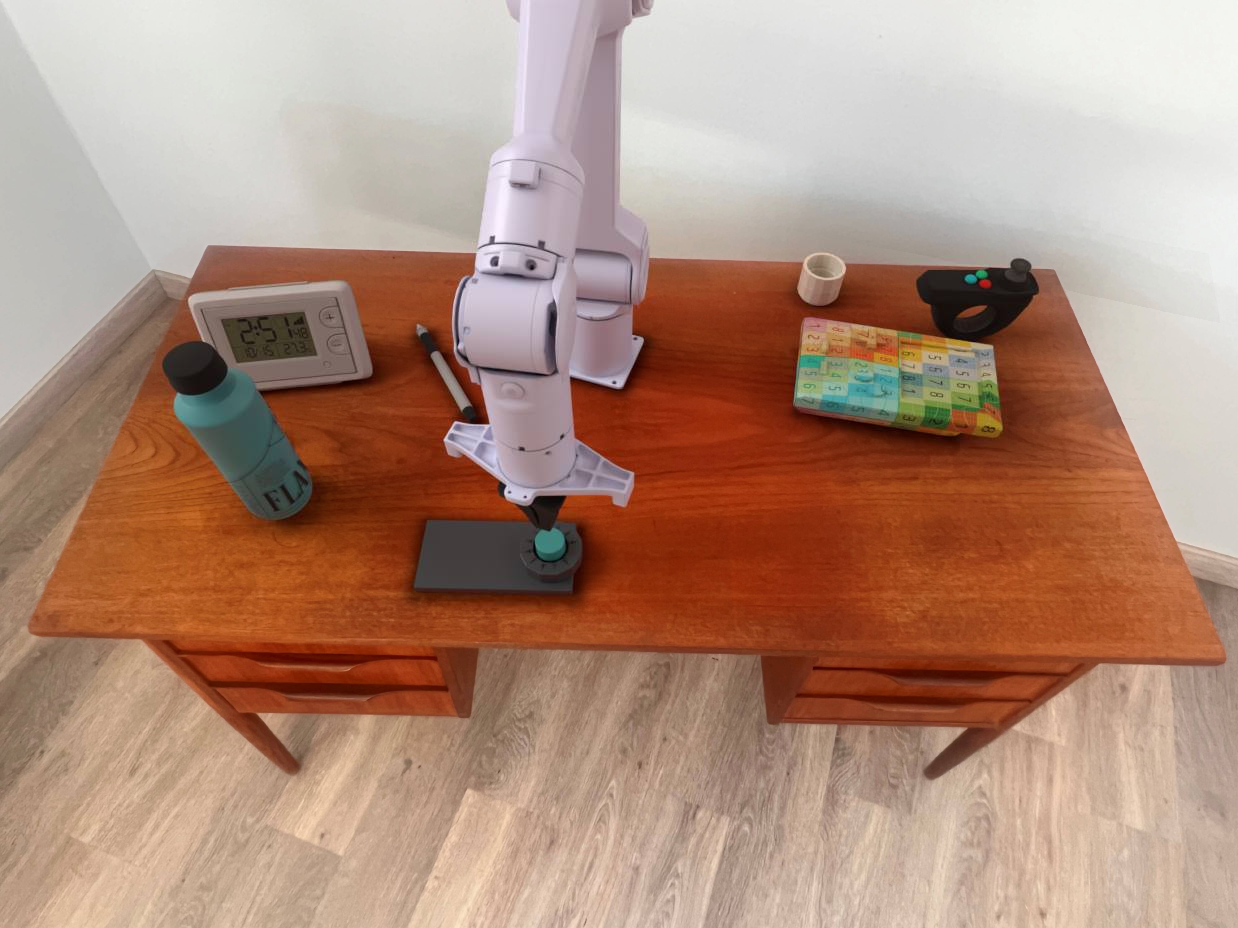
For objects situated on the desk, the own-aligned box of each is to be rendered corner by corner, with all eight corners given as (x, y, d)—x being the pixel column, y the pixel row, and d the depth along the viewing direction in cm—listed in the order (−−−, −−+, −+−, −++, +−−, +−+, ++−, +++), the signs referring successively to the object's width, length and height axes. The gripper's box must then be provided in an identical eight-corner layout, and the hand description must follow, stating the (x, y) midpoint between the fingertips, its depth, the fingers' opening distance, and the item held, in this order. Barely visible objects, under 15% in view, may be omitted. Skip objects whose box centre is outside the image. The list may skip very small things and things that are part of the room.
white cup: (793, 302, 88) (800, 274, 84) (800, 277, 90) (808, 248, 87) (833, 311, 87) (842, 283, 83) (840, 285, 89) (848, 257, 86)
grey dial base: (415, 592, 66) (409, 579, 64) (429, 524, 70) (423, 510, 68) (580, 595, 66) (579, 583, 64) (584, 527, 70) (583, 513, 68)
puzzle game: (805, 311, 80) (997, 339, 78) (796, 342, 84) (979, 369, 81) (797, 391, 73) (1007, 424, 71) (788, 421, 77) (987, 453, 75)
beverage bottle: (285, 542, 69) (181, 403, 52) (235, 510, 71) (121, 366, 55) (335, 492, 72) (252, 347, 56) (287, 463, 74) (193, 314, 58)
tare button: (535, 561, 65) (533, 552, 64) (537, 535, 67) (536, 527, 66) (564, 561, 65) (563, 553, 64) (566, 536, 67) (565, 527, 65)
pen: (469, 426, 77) (467, 418, 76) (412, 329, 85) (410, 320, 84) (480, 422, 77) (478, 414, 76) (423, 325, 85) (420, 316, 84)
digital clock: (216, 397, 79) (167, 324, 70) (246, 337, 84) (204, 262, 76) (365, 404, 78) (334, 332, 70) (386, 343, 84) (360, 269, 75)
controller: (1012, 347, 83) (1055, 278, 75) (902, 345, 84) (933, 276, 75) (1002, 321, 86) (1042, 251, 78) (895, 319, 86) (924, 249, 78)
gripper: (410, 434, 50) (447, 534, 61) (610, 493, 47) (612, 586, 59) (456, 362, 54) (484, 468, 65) (645, 413, 51) (640, 515, 62)
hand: (547, 520), depth 62 cm, fingers closed
